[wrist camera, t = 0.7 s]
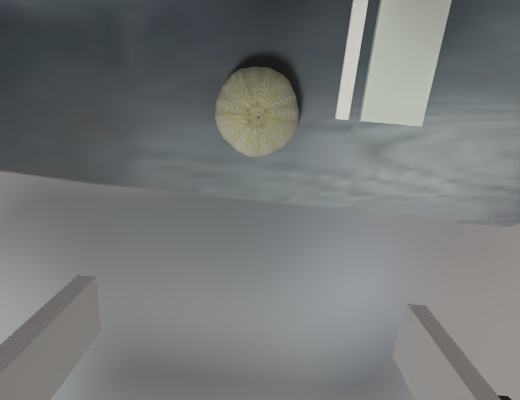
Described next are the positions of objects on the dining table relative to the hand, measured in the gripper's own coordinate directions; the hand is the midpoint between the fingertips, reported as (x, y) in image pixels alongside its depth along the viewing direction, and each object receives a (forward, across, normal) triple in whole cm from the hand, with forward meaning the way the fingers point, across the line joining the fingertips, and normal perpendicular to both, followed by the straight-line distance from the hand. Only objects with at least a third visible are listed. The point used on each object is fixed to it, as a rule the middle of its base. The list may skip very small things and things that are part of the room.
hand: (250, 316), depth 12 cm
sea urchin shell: (+25, -1, +8) cm, 26 cm away
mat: (+25, +14, +16) cm, 33 cm away
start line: (+25, +9, +16) cm, 31 cm away
